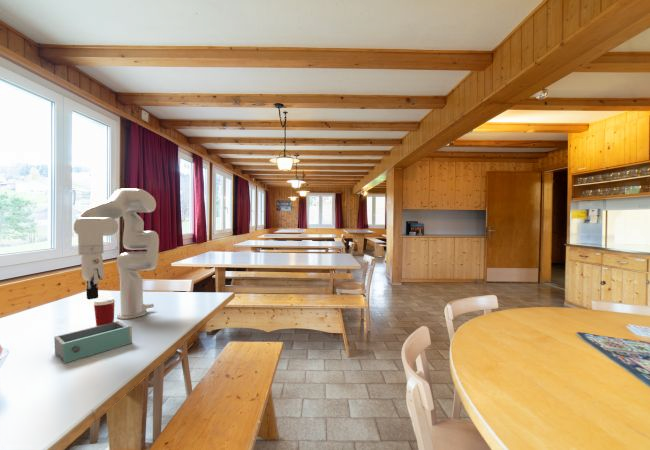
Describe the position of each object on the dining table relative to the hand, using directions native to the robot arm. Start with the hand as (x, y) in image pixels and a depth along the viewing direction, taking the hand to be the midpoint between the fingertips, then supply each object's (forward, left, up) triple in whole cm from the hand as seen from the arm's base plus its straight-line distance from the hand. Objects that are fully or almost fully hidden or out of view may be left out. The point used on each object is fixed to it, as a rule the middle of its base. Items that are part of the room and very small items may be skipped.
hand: (92, 298), depth 116 cm
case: (+1, +2, -18) cm, 18 cm away
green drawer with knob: (0, +10, -18) cm, 20 cm away
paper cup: (-7, -13, -18) cm, 24 cm away
